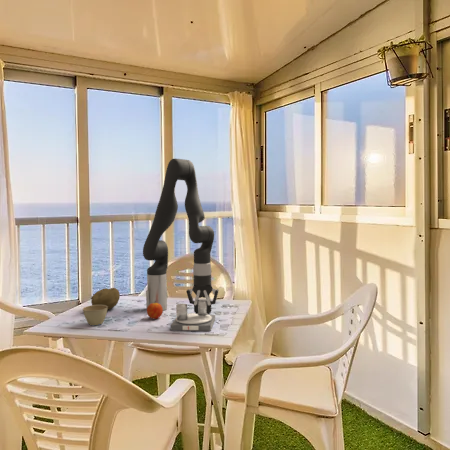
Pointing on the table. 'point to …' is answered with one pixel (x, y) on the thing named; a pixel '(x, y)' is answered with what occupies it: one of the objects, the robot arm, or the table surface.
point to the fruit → (154, 310)
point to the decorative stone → (106, 297)
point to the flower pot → (95, 314)
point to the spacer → (202, 307)
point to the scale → (194, 323)
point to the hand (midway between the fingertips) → (202, 313)
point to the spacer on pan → (181, 312)
